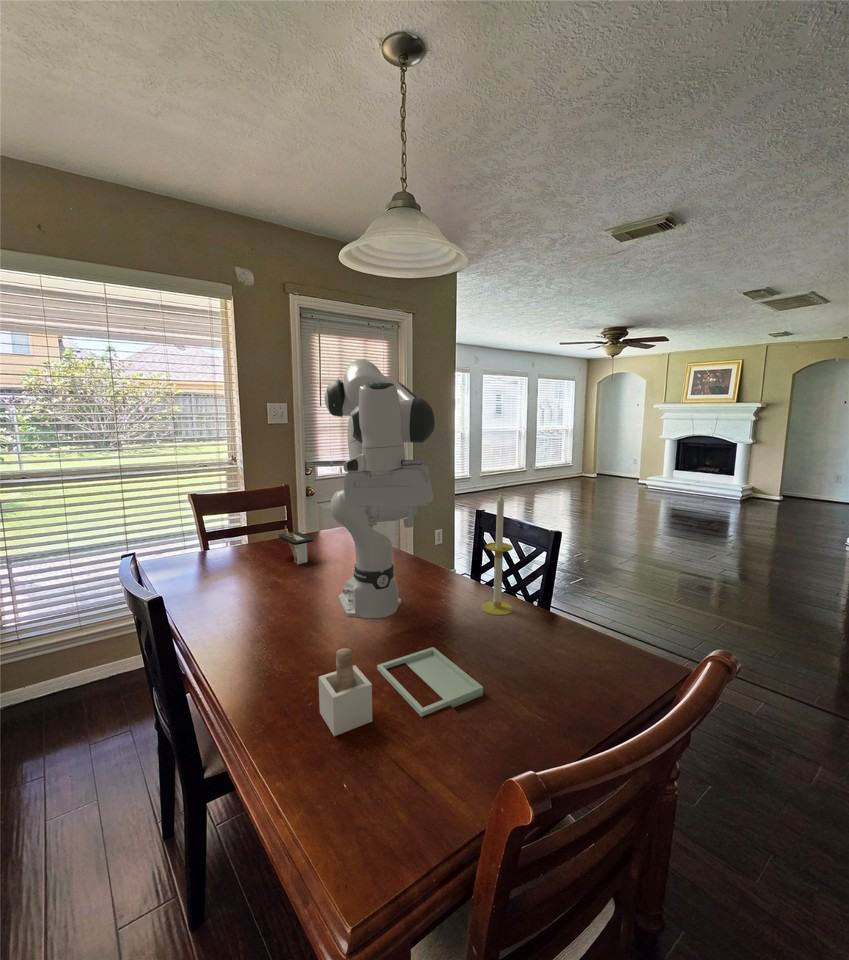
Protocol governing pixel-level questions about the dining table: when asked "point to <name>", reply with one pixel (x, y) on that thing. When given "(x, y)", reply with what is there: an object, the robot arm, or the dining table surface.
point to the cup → (345, 702)
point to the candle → (498, 566)
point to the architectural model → (297, 544)
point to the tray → (435, 680)
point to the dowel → (344, 669)
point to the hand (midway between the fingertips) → (390, 526)
